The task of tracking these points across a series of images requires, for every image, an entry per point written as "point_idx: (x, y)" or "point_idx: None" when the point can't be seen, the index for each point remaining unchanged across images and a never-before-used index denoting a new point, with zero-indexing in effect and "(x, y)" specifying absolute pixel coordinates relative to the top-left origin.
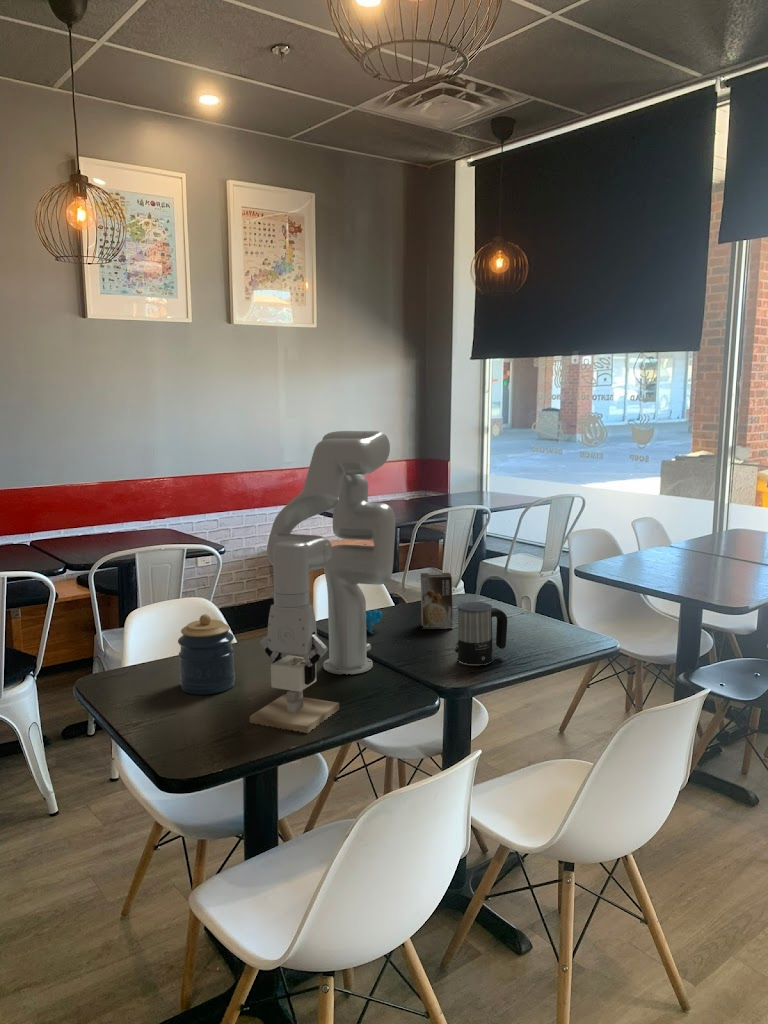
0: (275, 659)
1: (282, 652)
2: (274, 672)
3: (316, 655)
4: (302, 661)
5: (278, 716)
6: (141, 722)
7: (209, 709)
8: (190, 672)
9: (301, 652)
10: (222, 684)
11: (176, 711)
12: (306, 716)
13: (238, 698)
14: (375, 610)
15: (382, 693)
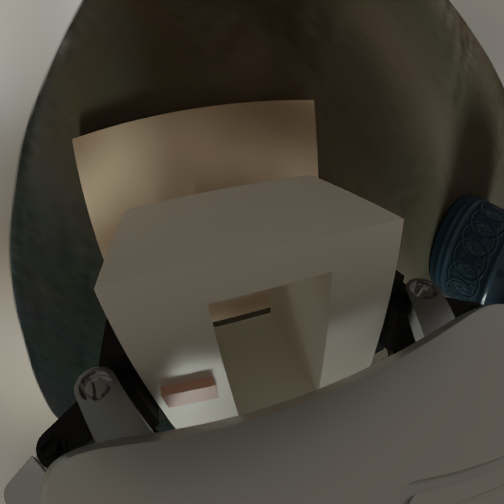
0: (404, 302)
1: (396, 357)
2: (341, 203)
3: (50, 461)
4: (202, 396)
5: (223, 144)
6: (463, 51)
7: (425, 143)
8: (501, 209)
9: (87, 473)
10: (448, 240)
11: (457, 111)
12: (133, 203)
13: (404, 227)
14: None
15: None
